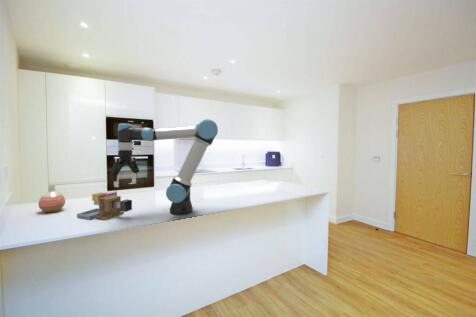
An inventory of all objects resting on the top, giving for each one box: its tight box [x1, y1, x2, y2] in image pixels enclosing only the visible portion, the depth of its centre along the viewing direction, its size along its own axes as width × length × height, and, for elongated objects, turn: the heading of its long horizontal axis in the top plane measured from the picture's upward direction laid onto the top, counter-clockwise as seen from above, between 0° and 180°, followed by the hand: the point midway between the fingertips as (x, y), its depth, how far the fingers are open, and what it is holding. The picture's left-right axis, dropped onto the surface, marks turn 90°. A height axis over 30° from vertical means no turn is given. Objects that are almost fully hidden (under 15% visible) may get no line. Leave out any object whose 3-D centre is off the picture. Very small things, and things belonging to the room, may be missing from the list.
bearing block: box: [95, 195, 125, 221], centre depth 141 cm, size 7×14×12 cm, turn 162°
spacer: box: [91, 192, 107, 202], centre depth 143 cm, size 5×6×4 cm
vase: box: [38, 184, 66, 214], centre depth 149 cm, size 14×14×18 cm
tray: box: [76, 207, 99, 221], centre depth 142 cm, size 11×13×2 cm
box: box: [104, 190, 118, 196], centre depth 155 cm, size 10×6×12 cm, turn 168°
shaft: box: [93, 199, 133, 213], centre depth 140 cm, size 26×5×6 cm, turn 72°
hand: (125, 185), depth 136 cm, fingers open, 13 cm apart
